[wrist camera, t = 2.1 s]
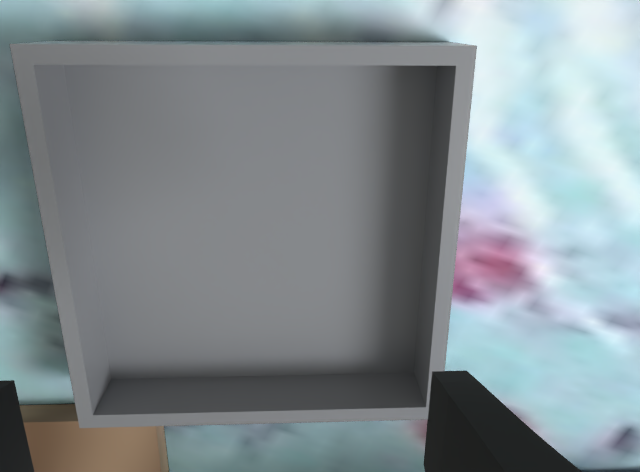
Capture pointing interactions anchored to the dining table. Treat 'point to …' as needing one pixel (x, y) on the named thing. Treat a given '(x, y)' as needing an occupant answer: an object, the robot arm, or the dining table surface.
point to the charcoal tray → (249, 223)
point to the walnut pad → (90, 443)
